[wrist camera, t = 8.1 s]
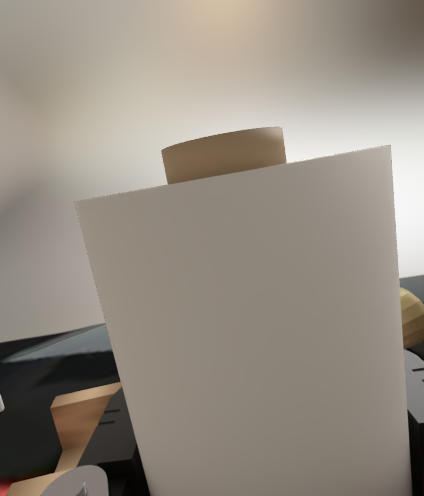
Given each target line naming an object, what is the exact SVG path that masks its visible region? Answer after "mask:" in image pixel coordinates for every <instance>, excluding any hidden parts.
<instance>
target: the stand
mask: <svg viewBox="0 0 424 496" xmlns="http://www.w3.org/2000/svg"><path fill="white" fill-rule="evenodd" d="M121 387H122V384H121V382H119V383H114V384H110V385H105V386H101V387H96V388H92V389H88V390H83V391H79V392H74V393H70V394H65V395H61V396H57V397H56V398H55V400H54V402H53V404H52V406H51V412H52V415H53V419H54V422H55V425H56V429H57V432H58V436H59V439H60V443H61V446H62V449H63V452H62V454H61V457H60V460H59V462H58V465H57V468H56V470H55V473H52V474H48V475H44V476H40V477H36V478H32V479H28V480H24V481H20V482H16V483H12V485H11V487H10V488H9V490H8V492H7V494H6V496H40V495H41V493H42V492H43V491H44V490H45V489H46V487H47V486H48V485H49V484H50V483H52V482H53V481H54V480H55V479H56V478H58V477H59V476H60V475H62V474H64V473H65V472H67V471H69V470H71V469H74V468H76V466H77V464H78V462H79V460H80V458H81V456H82V454H83V452H84V450H85V448H86V446H87V444H88V442H89V440H90V438H91V436H92V434H93V432H94V430H95V428H96V426H98V422H99V420H100V418H101V416H102V414H104V410H105V408H106V406H107V404H108V402H109V400H110V398H111V397H112V396H113V395H114V394H115V393H116V392H117V391H118V390H119V389H120V388H121Z"/></svg>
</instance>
